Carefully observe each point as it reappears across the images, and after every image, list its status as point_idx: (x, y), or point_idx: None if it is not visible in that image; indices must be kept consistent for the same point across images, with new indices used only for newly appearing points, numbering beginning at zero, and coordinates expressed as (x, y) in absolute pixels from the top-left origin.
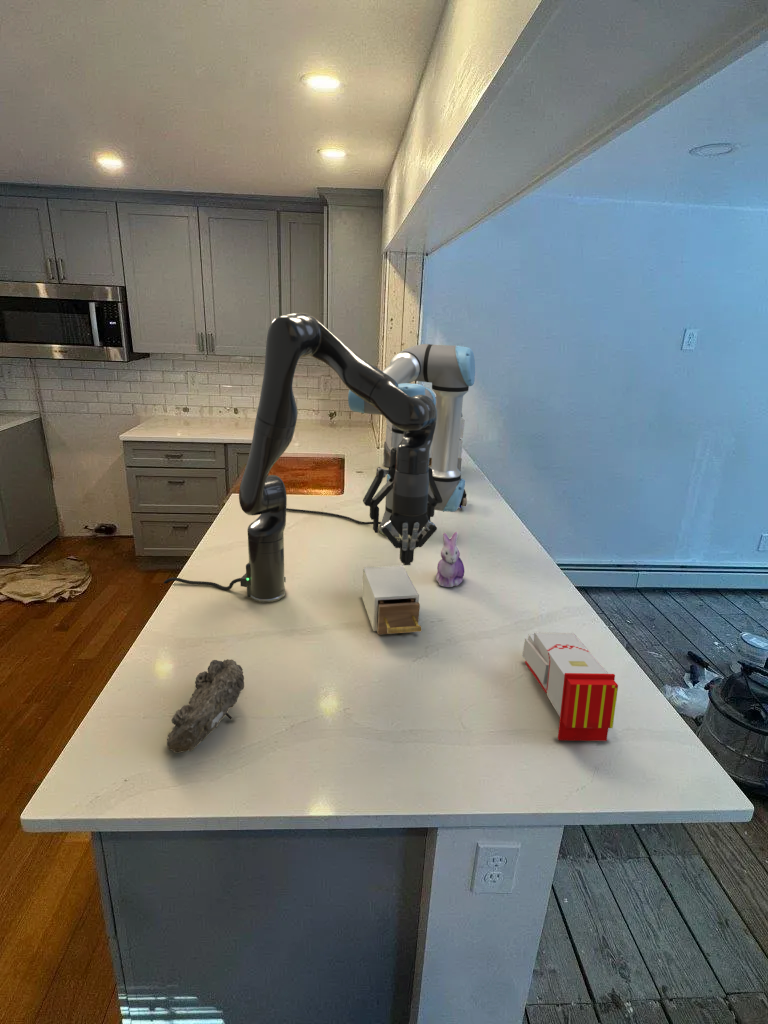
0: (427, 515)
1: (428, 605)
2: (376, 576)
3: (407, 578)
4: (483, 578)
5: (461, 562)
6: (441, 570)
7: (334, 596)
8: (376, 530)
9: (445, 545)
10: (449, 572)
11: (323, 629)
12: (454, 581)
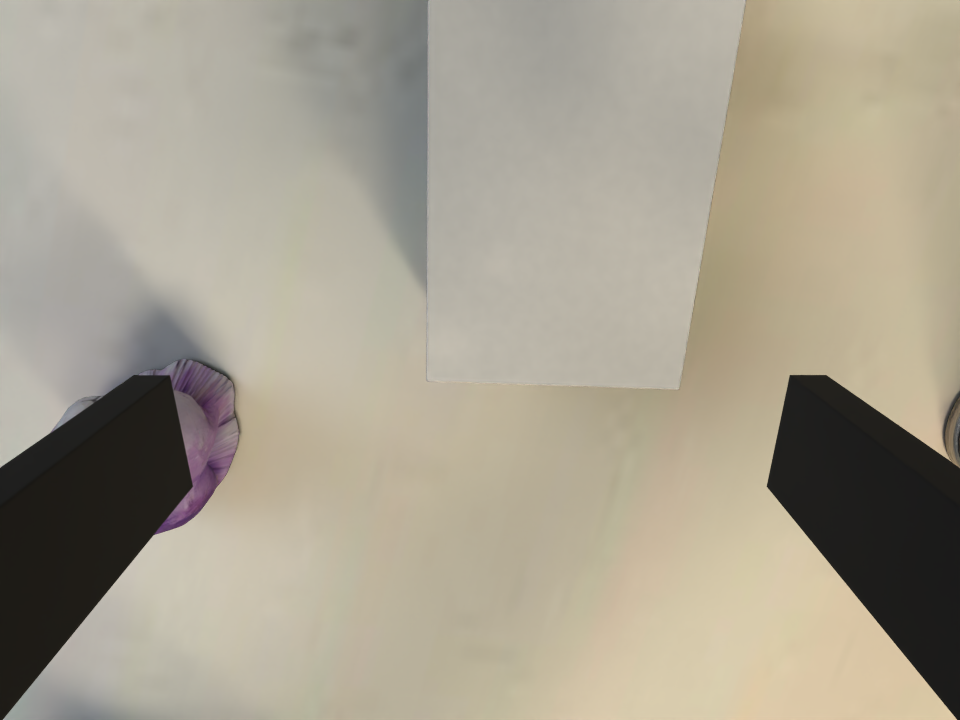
0: (36, 497)
1: (329, 208)
2: (640, 253)
3: (446, 193)
4: (4, 422)
5: None
6: (195, 415)
7: (744, 361)
8: (830, 385)
9: None
10: None
11: (901, 60)
12: None
